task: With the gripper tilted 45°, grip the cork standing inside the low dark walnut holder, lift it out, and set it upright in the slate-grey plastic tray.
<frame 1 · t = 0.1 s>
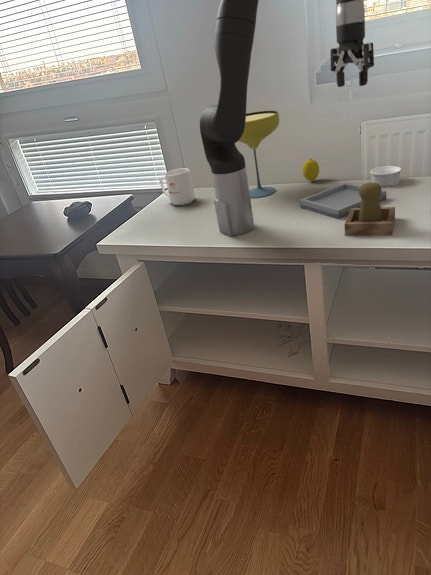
hand: (351, 86, 126), 29 cm above the table, tool pointing down, fingers open, 8 cm apart
cork: (370, 227, 109), resting in walnut holder
ramekin: (385, 184, 135), on the table
grey tray: (342, 203, 126), on the table
walnut holder: (370, 226, 109), on the table
cocktail glass: (260, 193, 149), on the table
mug: (179, 203, 156), on the table
lemon: (311, 182, 150), on the table
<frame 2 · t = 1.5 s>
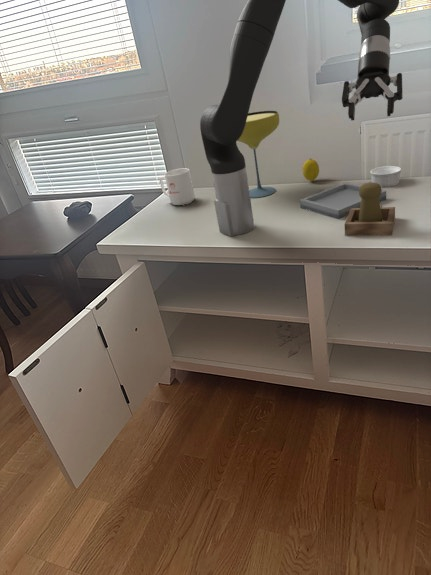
hand: (370, 116, 107), 24 cm above the table, tool tilted 45°, fingers open, 8 cm apart
nothing on the table moved.
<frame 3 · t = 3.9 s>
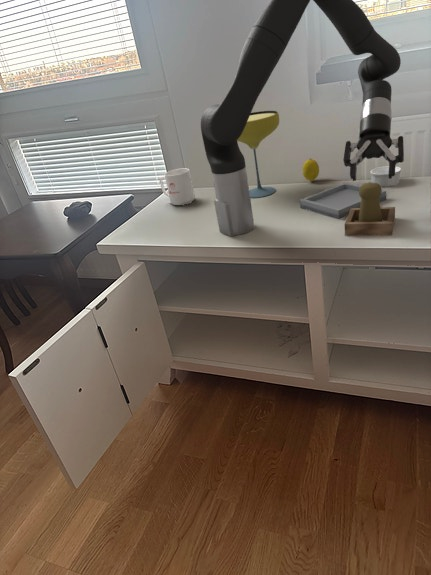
hand: (371, 178, 108), 11 cm above the table, tool tilted 45°, fingers open, 8 cm apart
nothing on the table moved.
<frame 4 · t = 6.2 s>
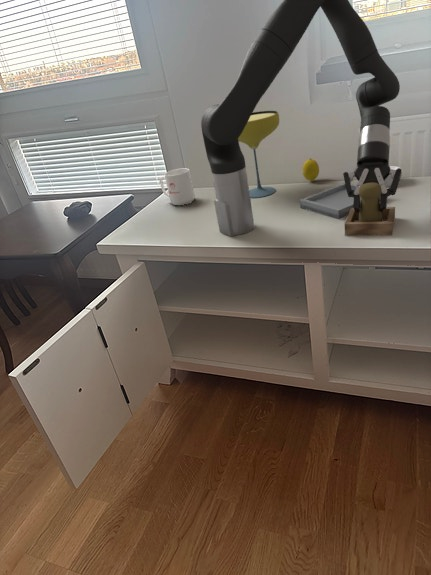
hand: (369, 210, 105), 5 cm above the table, tool tilted 45°, fingers closed on cork, 5 cm apart
cork: (370, 227, 109), resting in walnut holder, touching gripper
everything else where it was.
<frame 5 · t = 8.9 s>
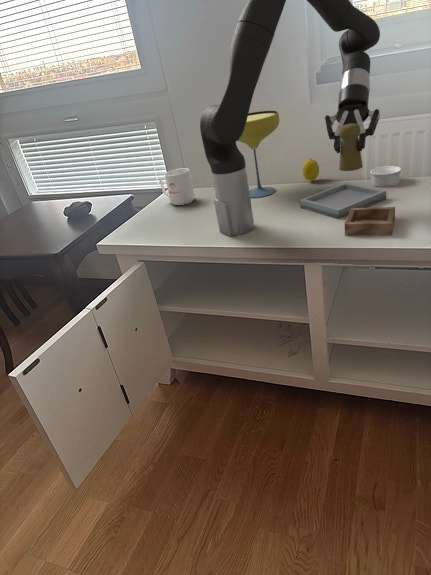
hand: (349, 150, 110), 17 cm above the table, tool tilted 45°, fingers closed on cork, 5 cm apart
cork: (350, 168, 114), point 12 cm above the table, touching gripper
everything else where it was.
when the fingers open (7 cm above the table, at t = 11.6 s): cork drops 1 cm, resting on grey tray.
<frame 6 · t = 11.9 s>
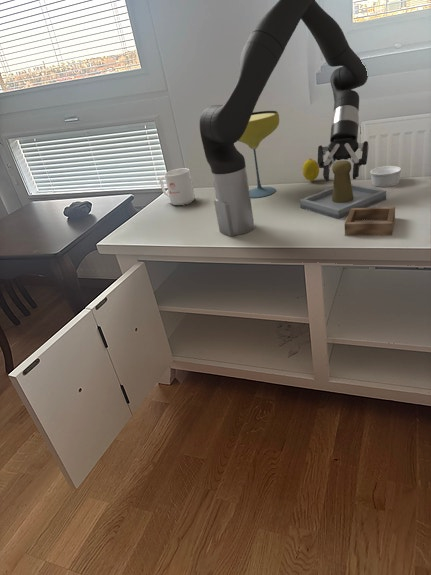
hand: (340, 178, 121), 8 cm above the table, tool tilted 45°, fingers open, 7 cm apart
cork: (342, 200, 126), point 1 cm above the table, touching grey tray
everything else where it was.
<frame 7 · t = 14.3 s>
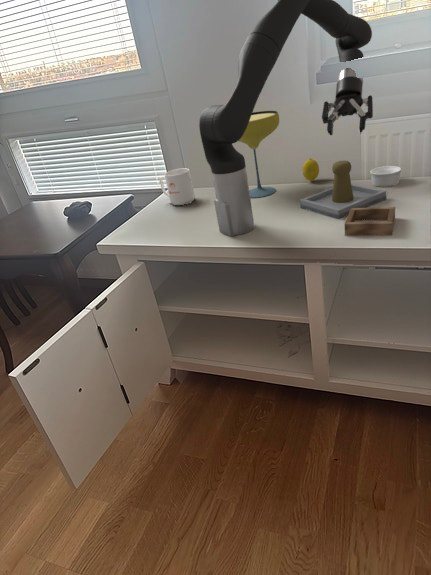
hand: (345, 132, 126), 18 cm above the table, tool tilted 45°, fingers open, 8 cm apart
nothing on the table moved.
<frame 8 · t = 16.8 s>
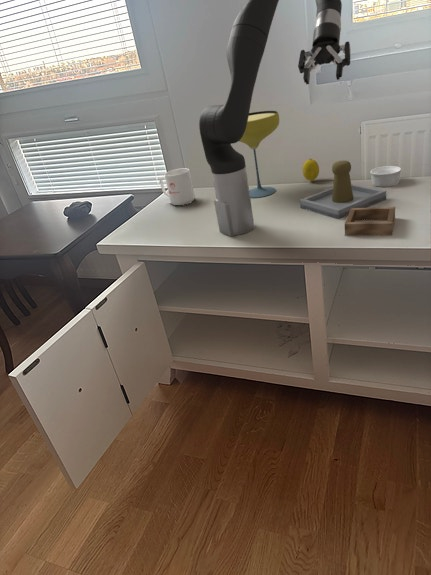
hand: (322, 80, 121), 33 cm above the table, tool tilted 45°, fingers open, 8 cm apart
nothing on the table moved.
at the end: cork inside the target area on the grey tray (0.3 cm from its centre), point 1.0 cm above the grey tray's base; cork tilted 0°; the gripper is holding nothing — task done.
